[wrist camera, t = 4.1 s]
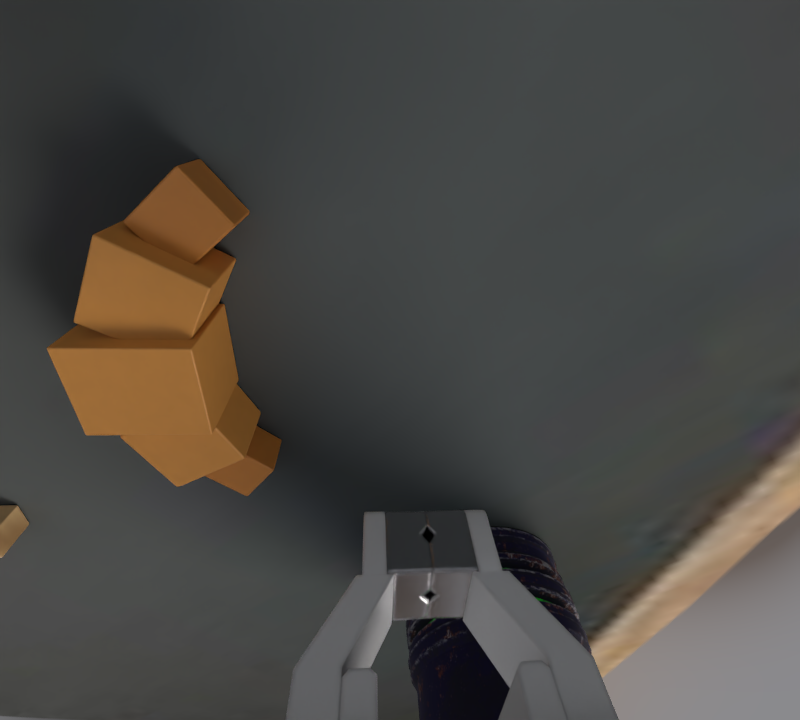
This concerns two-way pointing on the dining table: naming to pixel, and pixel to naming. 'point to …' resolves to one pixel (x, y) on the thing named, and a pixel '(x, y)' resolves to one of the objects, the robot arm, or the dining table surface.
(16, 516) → the oak frame
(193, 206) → the orange block cluster
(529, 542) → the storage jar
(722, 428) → the dining table surface
